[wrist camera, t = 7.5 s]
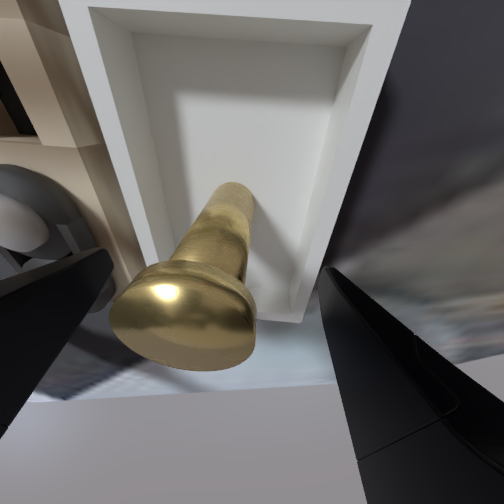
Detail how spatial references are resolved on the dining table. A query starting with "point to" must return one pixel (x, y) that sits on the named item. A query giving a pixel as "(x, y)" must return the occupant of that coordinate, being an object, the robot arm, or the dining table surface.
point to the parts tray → (237, 118)
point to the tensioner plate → (57, 156)
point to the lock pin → (196, 293)
